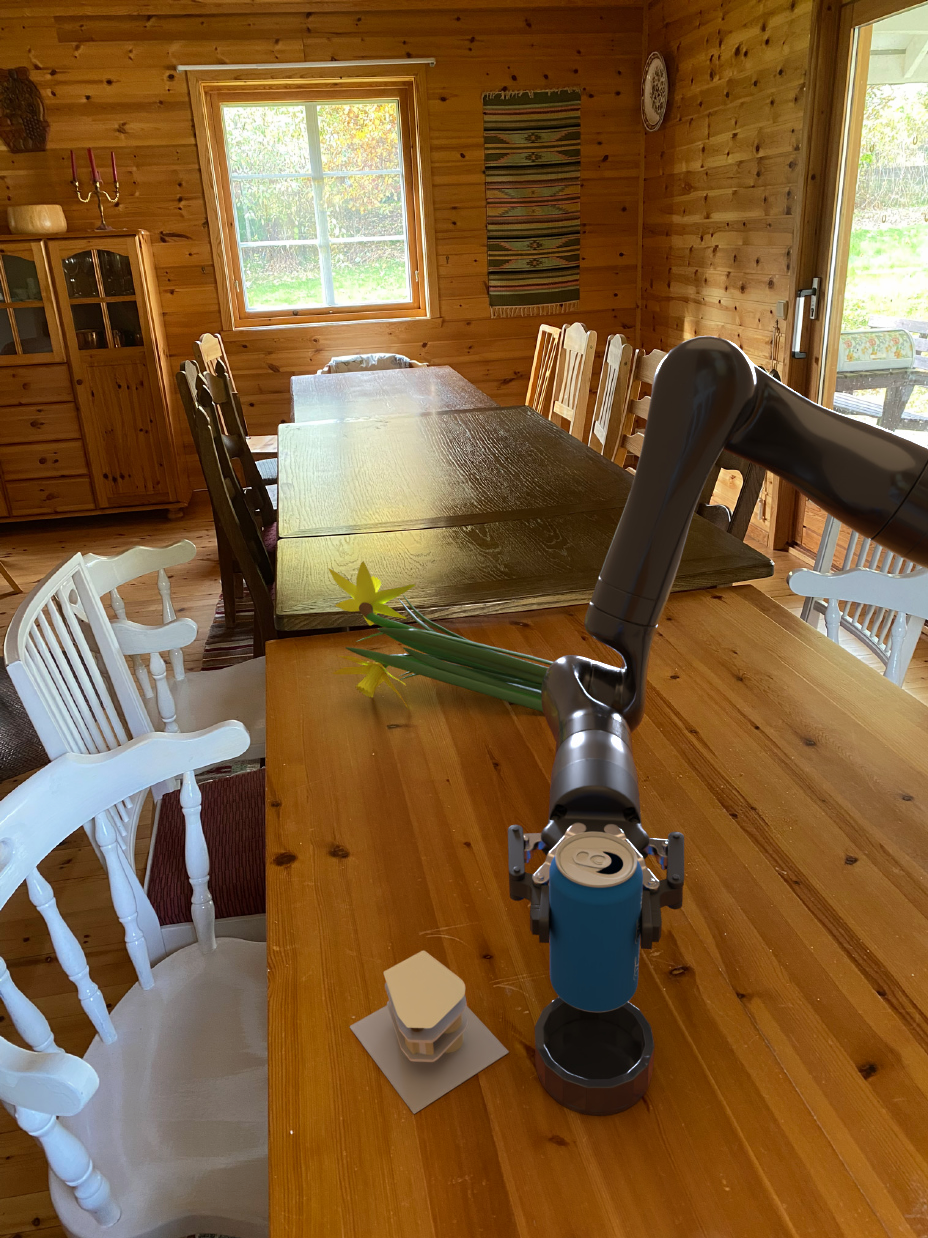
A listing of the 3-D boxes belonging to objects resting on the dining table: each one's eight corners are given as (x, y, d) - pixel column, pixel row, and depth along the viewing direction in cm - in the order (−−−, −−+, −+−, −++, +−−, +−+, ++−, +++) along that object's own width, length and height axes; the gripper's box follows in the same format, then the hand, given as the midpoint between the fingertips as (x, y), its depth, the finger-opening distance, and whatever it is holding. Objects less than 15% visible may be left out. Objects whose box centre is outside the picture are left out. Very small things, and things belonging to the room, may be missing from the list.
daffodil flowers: (546, 754, 113) (280, 672, 116) (543, 750, 127) (306, 677, 130) (584, 624, 114) (321, 546, 117) (577, 634, 129) (342, 565, 132)
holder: (664, 1037, 73) (666, 1010, 72) (634, 1133, 66) (635, 1105, 65) (558, 1003, 77) (557, 976, 76) (518, 1091, 69) (517, 1063, 68)
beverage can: (628, 1030, 65) (633, 898, 59) (539, 1007, 67) (537, 878, 62) (644, 963, 70) (651, 837, 65) (562, 943, 72) (562, 820, 67)
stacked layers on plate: (349, 1027, 76) (342, 977, 73) (439, 975, 80) (435, 927, 78) (414, 1114, 68) (408, 1062, 66) (509, 1052, 73) (507, 1001, 70)
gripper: (509, 753, 77) (490, 890, 63) (682, 758, 76) (705, 901, 61) (511, 825, 81) (493, 971, 66) (677, 832, 79) (698, 984, 64)
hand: (595, 936), depth 63 cm, fingers closed on beverage can, 6 cm apart
